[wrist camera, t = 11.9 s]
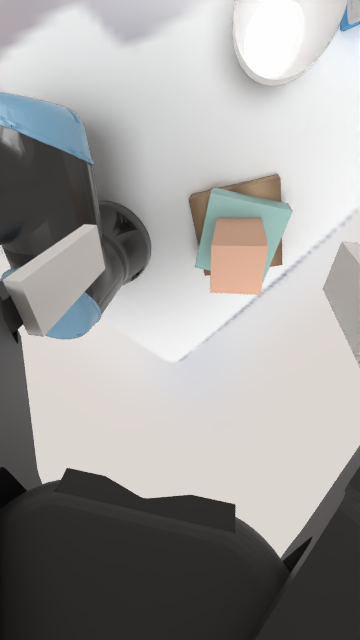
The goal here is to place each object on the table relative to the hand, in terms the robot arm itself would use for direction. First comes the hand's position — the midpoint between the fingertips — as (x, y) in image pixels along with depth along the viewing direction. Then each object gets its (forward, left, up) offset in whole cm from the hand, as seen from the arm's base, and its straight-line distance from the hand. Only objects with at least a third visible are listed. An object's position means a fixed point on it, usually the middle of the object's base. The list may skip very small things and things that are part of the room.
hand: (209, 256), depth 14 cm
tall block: (+2, -8, -24) cm, 25 cm away
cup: (+5, +13, -31) cm, 34 cm away
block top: (+2, -8, -28) cm, 29 cm away
